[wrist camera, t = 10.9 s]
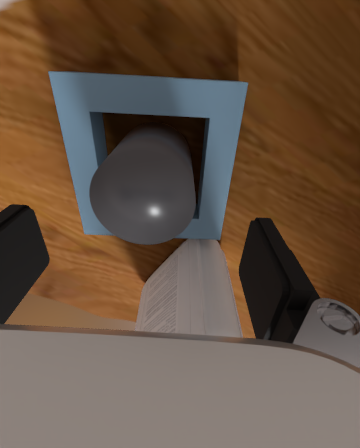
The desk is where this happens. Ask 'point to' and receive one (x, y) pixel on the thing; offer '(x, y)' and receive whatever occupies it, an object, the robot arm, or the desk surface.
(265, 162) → the desk surface
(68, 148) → the collar
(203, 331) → the photo printer
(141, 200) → the dark grey cylinder
